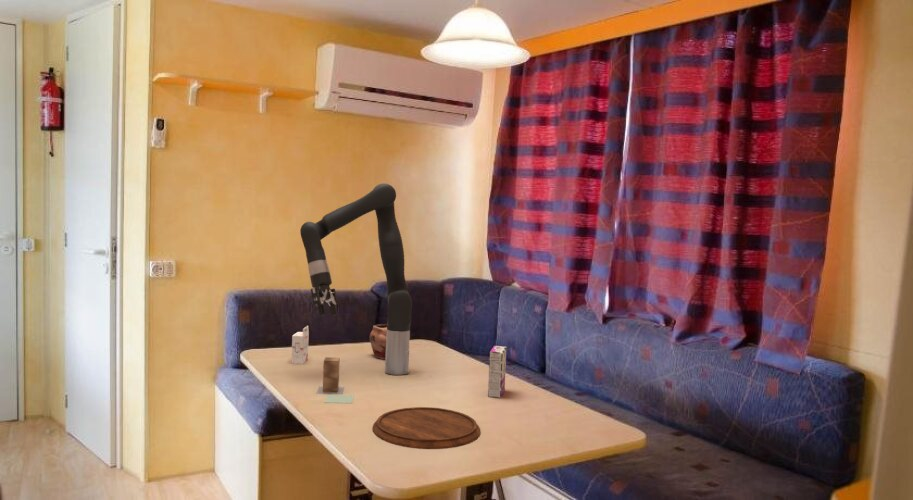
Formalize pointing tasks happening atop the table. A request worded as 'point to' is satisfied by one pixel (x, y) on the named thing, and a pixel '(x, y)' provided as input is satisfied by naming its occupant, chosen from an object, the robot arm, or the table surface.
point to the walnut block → (331, 374)
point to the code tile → (320, 391)
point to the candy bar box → (497, 371)
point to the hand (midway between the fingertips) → (328, 315)
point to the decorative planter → (379, 340)
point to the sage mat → (339, 399)
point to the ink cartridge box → (300, 346)
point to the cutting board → (426, 428)
